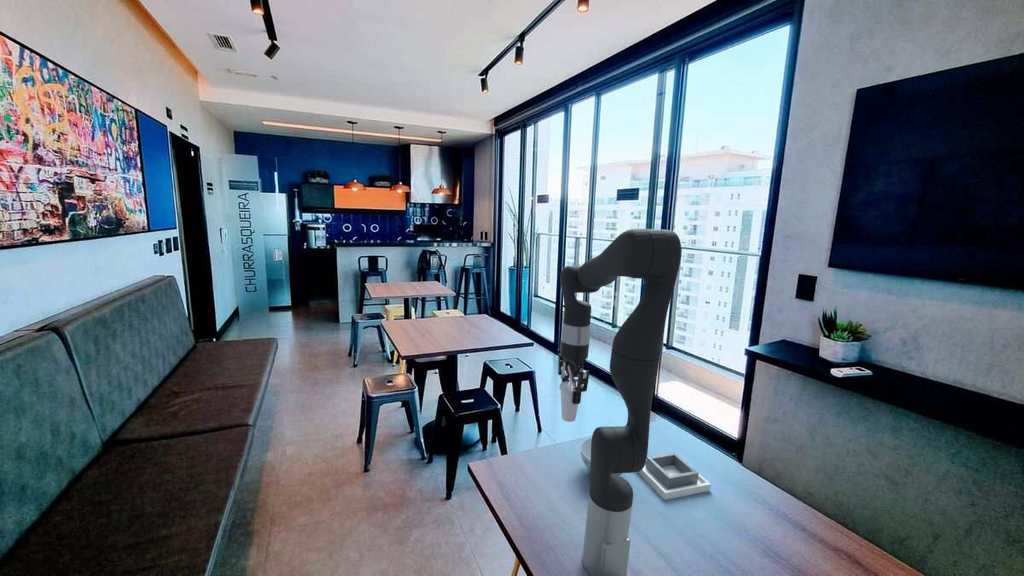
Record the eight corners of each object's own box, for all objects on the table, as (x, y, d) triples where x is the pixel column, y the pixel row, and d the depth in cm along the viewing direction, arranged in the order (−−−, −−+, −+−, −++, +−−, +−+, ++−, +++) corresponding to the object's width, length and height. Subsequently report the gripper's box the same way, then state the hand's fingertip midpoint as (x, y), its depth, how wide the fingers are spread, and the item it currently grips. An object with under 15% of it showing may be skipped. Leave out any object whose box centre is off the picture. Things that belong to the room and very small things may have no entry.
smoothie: (554, 421, 111) (558, 373, 108) (559, 411, 117) (563, 365, 114) (578, 426, 109) (582, 377, 106) (581, 415, 115) (586, 368, 112)
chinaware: (624, 461, 130) (626, 439, 129) (632, 493, 116) (635, 469, 114) (577, 456, 132) (579, 435, 130) (579, 487, 117) (582, 463, 116)
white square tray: (710, 490, 118) (712, 476, 118) (664, 500, 114) (666, 485, 113) (675, 460, 132) (677, 447, 132) (633, 467, 128) (634, 454, 127)
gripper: (601, 347, 103) (595, 408, 106) (575, 331, 117) (570, 386, 120) (574, 349, 101) (569, 411, 104) (551, 332, 114) (547, 388, 117)
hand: (570, 397), depth 112 cm, fingers closed on smoothie, 6 cm apart
